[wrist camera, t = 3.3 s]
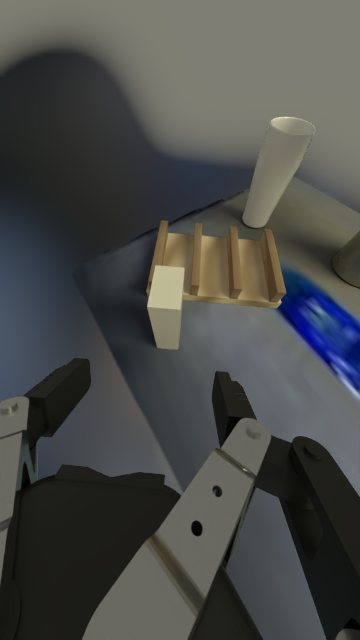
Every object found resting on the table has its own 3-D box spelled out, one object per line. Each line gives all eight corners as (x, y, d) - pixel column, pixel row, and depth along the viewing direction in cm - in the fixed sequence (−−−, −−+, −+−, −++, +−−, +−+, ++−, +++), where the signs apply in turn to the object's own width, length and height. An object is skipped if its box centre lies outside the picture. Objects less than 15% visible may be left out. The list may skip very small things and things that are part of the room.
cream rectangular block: (181, 318, 28) (184, 267, 19) (178, 349, 26) (180, 309, 16) (161, 317, 29) (155, 265, 19) (157, 347, 26) (147, 306, 16)
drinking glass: (245, 208, 42) (277, 113, 29) (273, 219, 41) (321, 123, 27) (233, 224, 40) (262, 126, 26) (263, 236, 38) (310, 138, 25)
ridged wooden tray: (265, 247, 36) (275, 229, 33) (276, 308, 30) (290, 293, 26) (159, 238, 37) (157, 219, 33) (147, 296, 30) (144, 280, 27)
